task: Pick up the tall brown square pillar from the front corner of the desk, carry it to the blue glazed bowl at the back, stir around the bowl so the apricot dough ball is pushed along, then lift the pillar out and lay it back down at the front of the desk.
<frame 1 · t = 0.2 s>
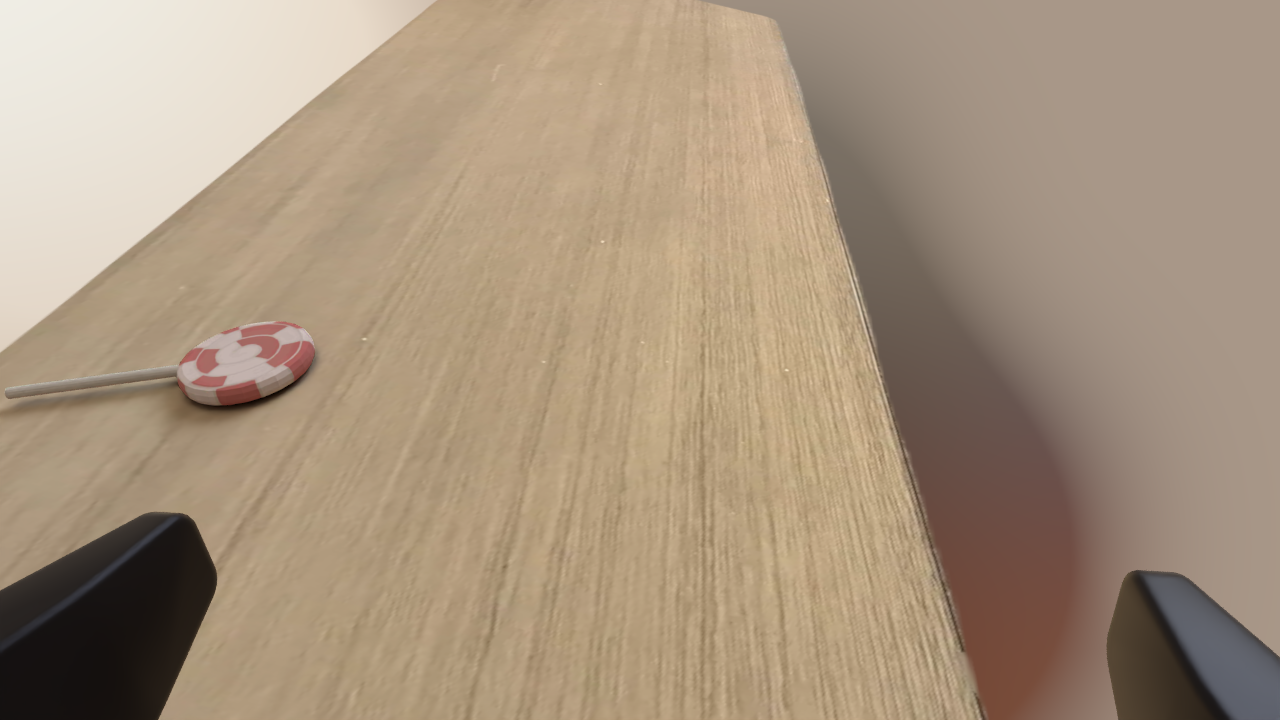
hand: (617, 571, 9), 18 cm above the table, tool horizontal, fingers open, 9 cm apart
lollipop: (167, 384, 45), on the table
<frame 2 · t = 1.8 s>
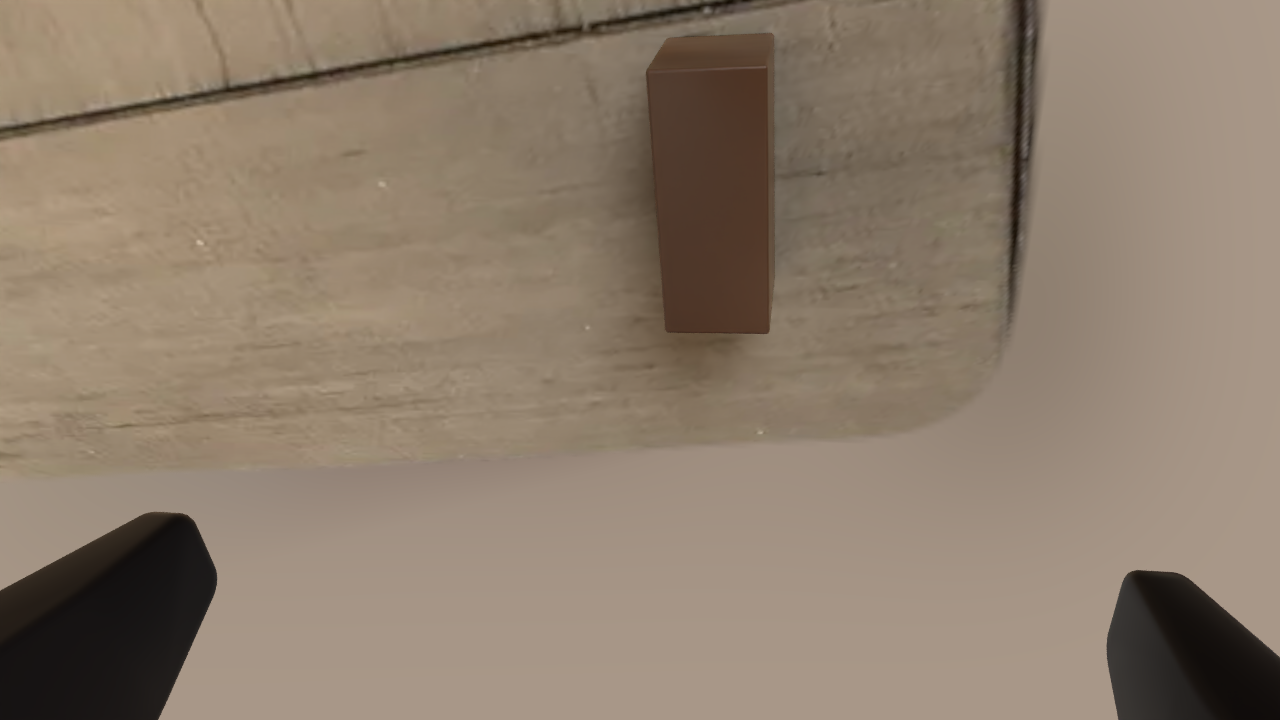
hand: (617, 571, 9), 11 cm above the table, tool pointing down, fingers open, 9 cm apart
tall brown square pillar: (723, 165, 18), on the table
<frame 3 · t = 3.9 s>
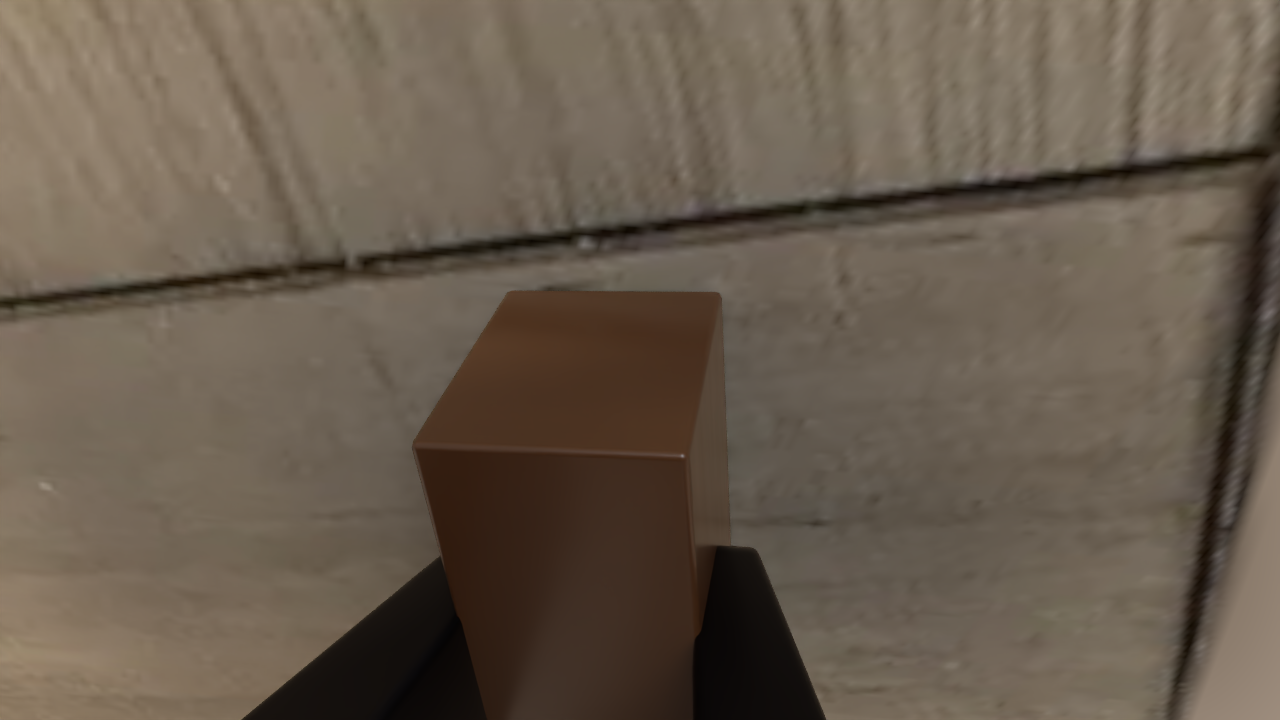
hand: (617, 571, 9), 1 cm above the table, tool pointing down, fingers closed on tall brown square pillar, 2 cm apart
tall brown square pillar: (635, 500, 9), on the table, touching gripper
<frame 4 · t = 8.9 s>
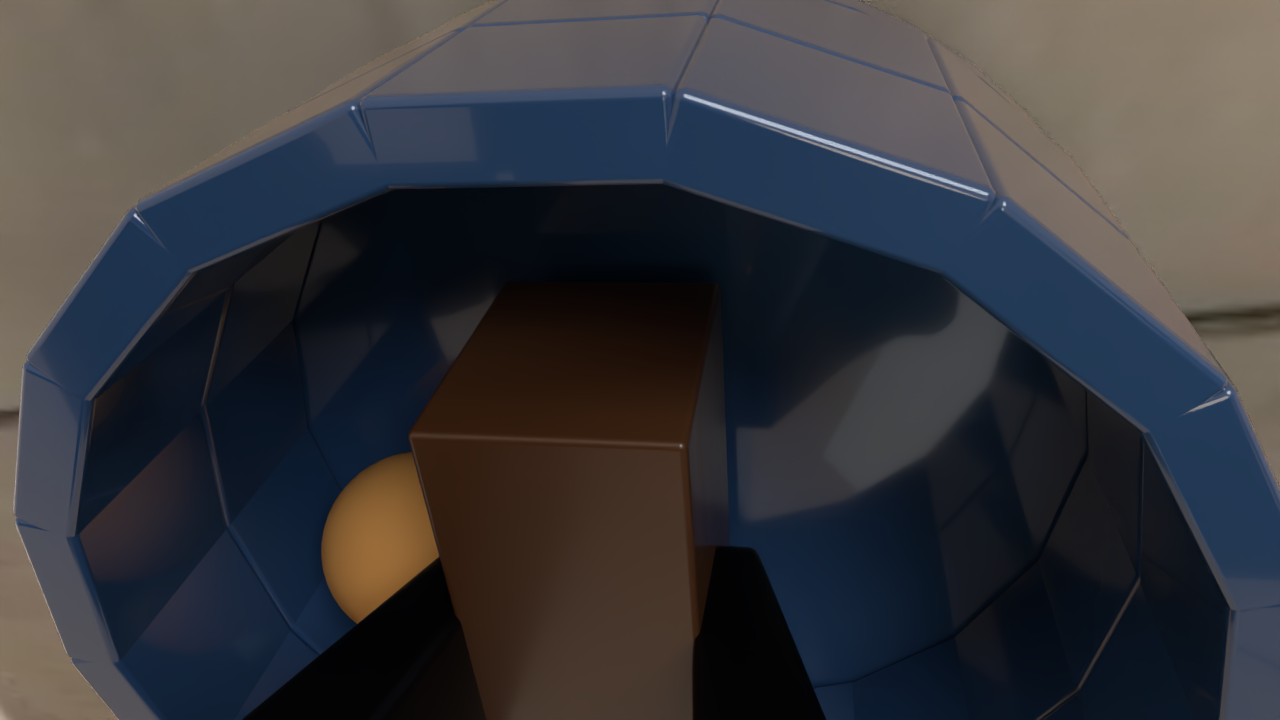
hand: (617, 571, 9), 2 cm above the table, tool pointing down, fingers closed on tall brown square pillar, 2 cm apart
tall brown square pillar: (633, 493, 9), point 1 cm above the table, touching gripper
dough ball: (420, 544, 10), point 2 cm above the table, tilted 23°, touching bowl
bowl: (674, 405, 10), on the table
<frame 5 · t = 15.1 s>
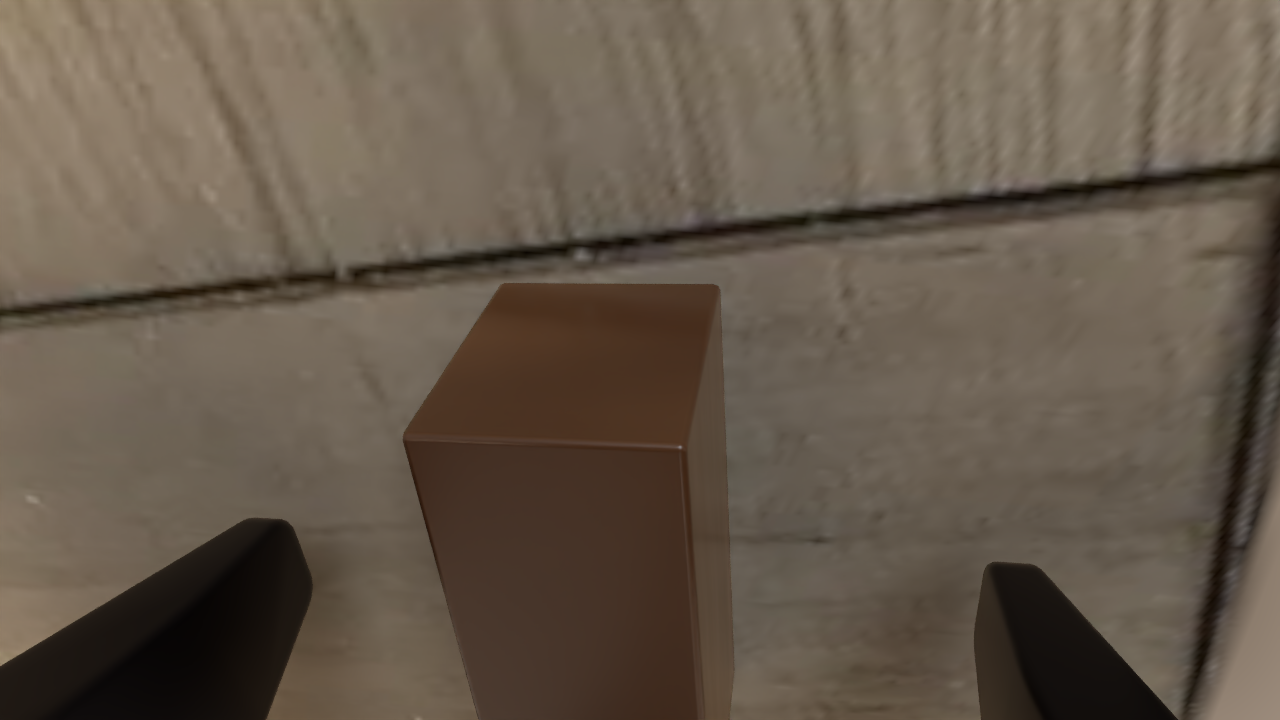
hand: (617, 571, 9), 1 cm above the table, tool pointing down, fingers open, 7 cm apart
tall brown square pillar: (632, 495, 9), on the table
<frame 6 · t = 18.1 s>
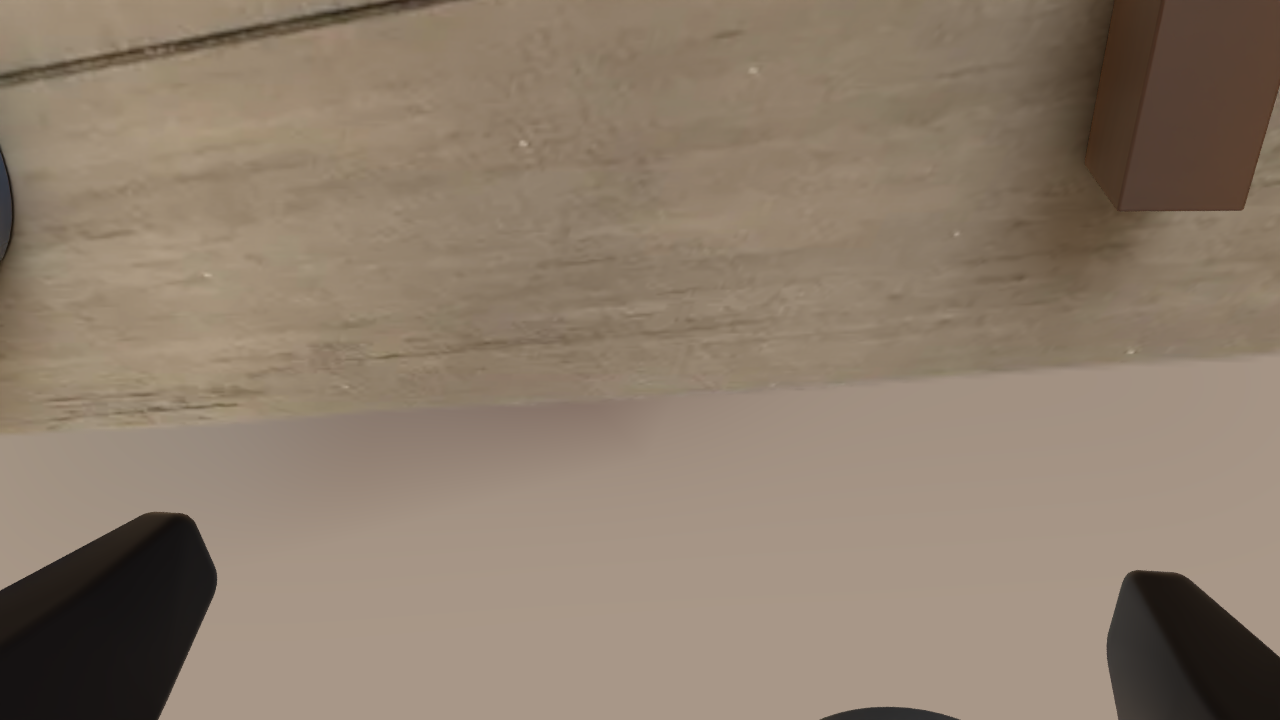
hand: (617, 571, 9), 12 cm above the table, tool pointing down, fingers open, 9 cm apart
tall brown square pillar: (1168, 29, 16), on the table
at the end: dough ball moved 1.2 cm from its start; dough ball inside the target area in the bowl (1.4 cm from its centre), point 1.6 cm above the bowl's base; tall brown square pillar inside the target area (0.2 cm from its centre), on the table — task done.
